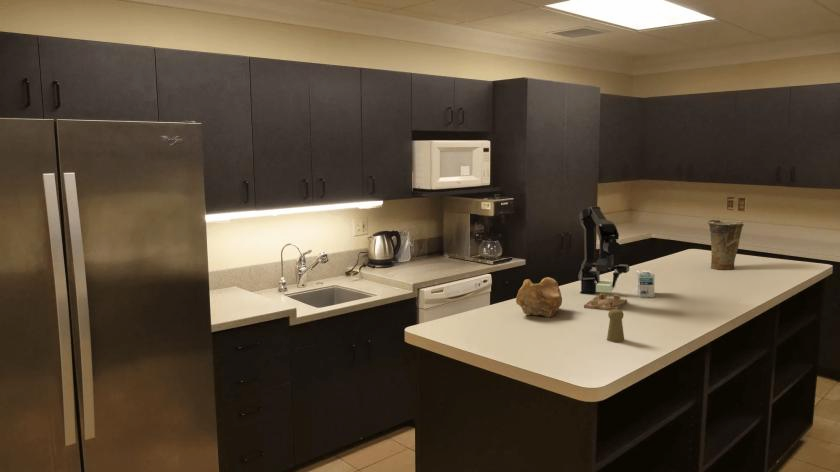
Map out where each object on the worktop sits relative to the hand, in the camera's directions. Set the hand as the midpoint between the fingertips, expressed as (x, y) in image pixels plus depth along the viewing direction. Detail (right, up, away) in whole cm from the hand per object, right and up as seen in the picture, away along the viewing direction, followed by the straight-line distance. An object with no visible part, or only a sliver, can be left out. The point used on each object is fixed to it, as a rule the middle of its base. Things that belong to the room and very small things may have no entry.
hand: (605, 286), depth 275 cm
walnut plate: (0, -8, +1) cm, 8 cm away
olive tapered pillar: (-11, -15, -50) cm, 54 cm away
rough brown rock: (-30, -11, -11) cm, 33 cm away
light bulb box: (+24, -6, +18) cm, 30 cm away
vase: (+89, +4, +76) cm, 117 cm away
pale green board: (0, -1, 0) cm, 1 cm away
